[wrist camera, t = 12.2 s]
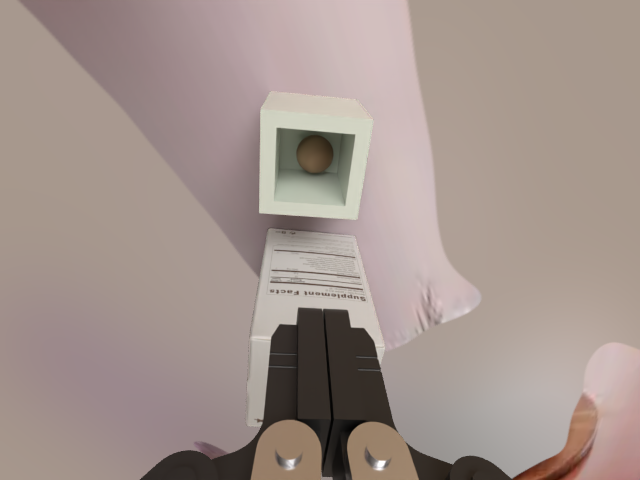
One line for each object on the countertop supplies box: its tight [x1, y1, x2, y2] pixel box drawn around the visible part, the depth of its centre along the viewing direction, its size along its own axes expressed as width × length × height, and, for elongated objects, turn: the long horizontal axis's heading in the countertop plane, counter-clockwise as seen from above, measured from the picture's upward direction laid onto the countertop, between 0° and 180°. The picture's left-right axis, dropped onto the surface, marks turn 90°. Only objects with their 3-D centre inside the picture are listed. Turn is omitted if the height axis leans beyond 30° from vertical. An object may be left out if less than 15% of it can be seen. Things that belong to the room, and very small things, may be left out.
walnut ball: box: [296, 135, 333, 173], centre depth 29 cm, size 3×3×3 cm
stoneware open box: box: [259, 91, 374, 220], centre depth 27 cm, size 7×7×8 cm
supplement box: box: [246, 228, 386, 427], centre depth 31 cm, size 9×9×15 cm
